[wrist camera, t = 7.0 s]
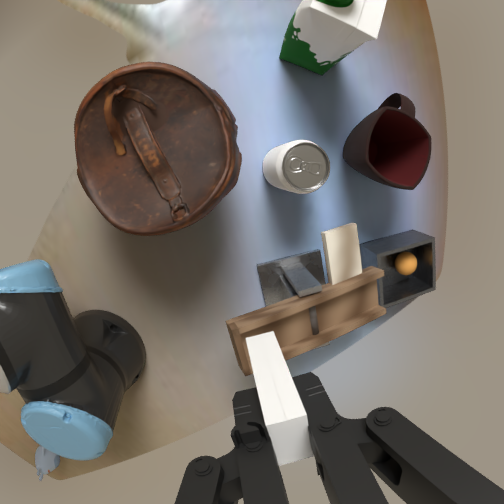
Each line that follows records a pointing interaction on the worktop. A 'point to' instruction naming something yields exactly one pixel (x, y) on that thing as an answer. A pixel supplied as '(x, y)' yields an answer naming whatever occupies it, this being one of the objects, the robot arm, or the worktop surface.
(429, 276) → the tin
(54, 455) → the toy figure
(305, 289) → the stand
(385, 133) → the cup
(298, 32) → the milk carton
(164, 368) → the worktop surface
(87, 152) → the case
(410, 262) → the ball
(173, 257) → the worktop surface
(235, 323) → the lever
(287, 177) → the can
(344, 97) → the worktop surface
